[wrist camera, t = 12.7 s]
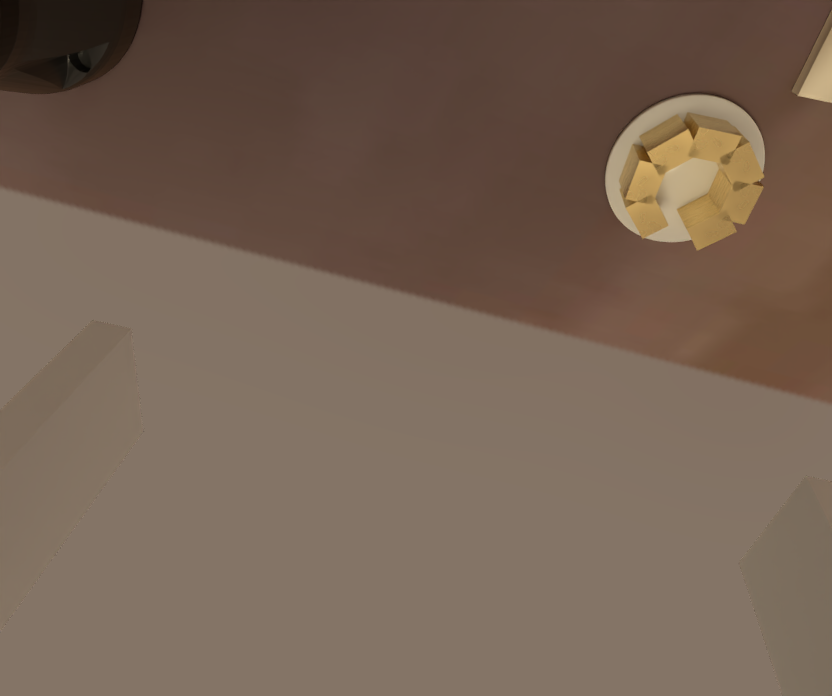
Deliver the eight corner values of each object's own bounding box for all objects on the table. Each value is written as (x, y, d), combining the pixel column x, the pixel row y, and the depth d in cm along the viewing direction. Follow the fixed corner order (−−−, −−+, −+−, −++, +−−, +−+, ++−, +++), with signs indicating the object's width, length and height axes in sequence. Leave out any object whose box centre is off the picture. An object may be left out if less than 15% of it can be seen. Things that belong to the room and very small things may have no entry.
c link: (647, 103, 36) (656, 117, 34) (767, 128, 36) (785, 145, 34) (607, 212, 40) (612, 232, 38) (715, 235, 40) (727, 257, 38)
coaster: (585, 222, 42) (586, 225, 41) (635, 78, 36) (637, 80, 36) (720, 250, 41) (723, 255, 41) (790, 111, 36) (794, 114, 36)
